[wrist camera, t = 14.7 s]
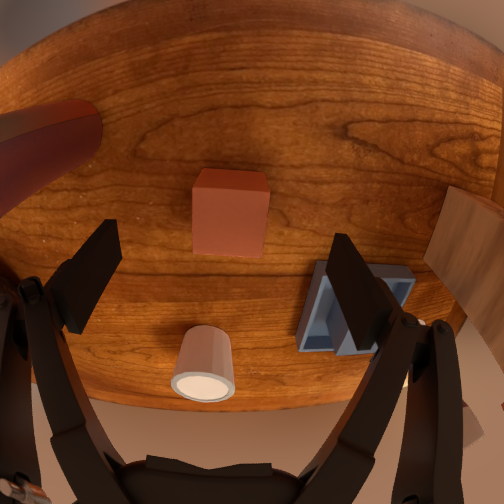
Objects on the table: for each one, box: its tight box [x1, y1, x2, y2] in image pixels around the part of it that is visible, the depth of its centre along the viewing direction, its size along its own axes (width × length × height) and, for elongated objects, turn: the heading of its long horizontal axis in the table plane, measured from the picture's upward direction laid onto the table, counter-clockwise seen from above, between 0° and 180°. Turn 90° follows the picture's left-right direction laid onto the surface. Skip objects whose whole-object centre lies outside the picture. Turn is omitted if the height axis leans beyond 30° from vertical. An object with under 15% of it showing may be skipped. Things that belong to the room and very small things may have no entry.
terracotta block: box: [192, 168, 270, 258], centre depth 20 cm, size 5×5×5 cm
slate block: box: [326, 296, 378, 356], centre depth 27 cm, size 5×5×5 cm
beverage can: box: [0, 99, 102, 218], centre depth 12 cm, size 6×6×15 cm
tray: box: [295, 260, 416, 352], centre depth 28 cm, size 11×11×2 cm
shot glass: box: [171, 325, 235, 402], centre depth 29 cm, size 7×7×7 cm
